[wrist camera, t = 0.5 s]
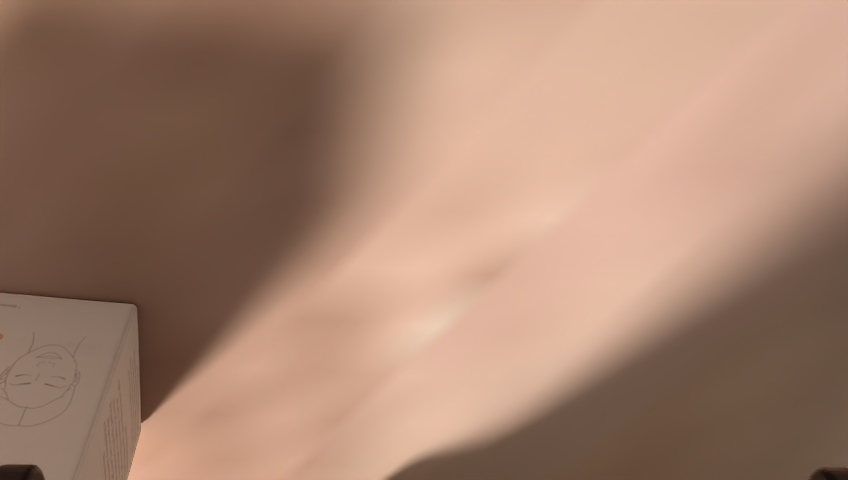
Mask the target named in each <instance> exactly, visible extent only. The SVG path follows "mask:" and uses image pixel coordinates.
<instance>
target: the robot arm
mask: <svg viewBox="0 0 848 480" xmlns="http://www.w3.org/2000/svg"><path fill="white" fill-rule="evenodd" d="M0 480H45V477H44V474H43V472H42V470H41V469H40V468H39V467H38V466H37V465H33V464H6V465H1V466H0ZM809 480H848V468H827V467H823V468H819V469H817V470H815V471H814V472H813V473H812V475H811V476H810V478H809Z"/></svg>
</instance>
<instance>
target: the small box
mask: <svg viewBox="0 0 848 480" xmlns="http://www.w3.org/2000/svg"><path fill="white" fill-rule="evenodd" d="M140 431H141V399H140V368H139V338H138V320H137V308H136V306H135V305H133V304H127V303H114V302H101V301H89V300H78V299H66V298H55V297H43V296H33V295H22V294H9V293H0V466H1V465H6V464H33V465H37V466H38V467H39V468H40V469H41V470H42V472H43V474H44V477H45V480H127V479H128V475H129V472H130V468H131V464H132V461H133V457H134V453H135V450H136V446H137V442H138V439H139V435H140Z"/></svg>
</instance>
